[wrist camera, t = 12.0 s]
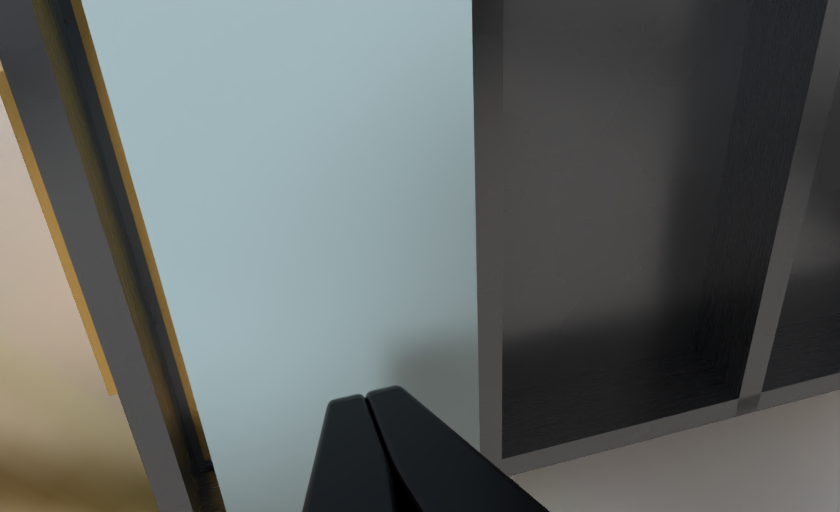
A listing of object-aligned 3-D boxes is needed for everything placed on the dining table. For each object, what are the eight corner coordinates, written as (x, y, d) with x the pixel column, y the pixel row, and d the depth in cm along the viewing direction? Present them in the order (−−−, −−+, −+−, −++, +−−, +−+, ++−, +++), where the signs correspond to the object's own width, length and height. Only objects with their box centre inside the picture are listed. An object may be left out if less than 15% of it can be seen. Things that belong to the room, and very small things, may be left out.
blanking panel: (78, -203, 11) (28, -181, 7) (360, -224, 12) (468, -213, 8) (235, 423, 17) (258, 625, 13) (410, 383, 18) (481, 562, 14)
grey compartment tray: (1134, -377, 14) (1302, -401, 12) (902, 297, 23) (979, 352, 21) (-100, -327, 10) (-166, -350, 8) (166, 473, 19) (168, 565, 16)
